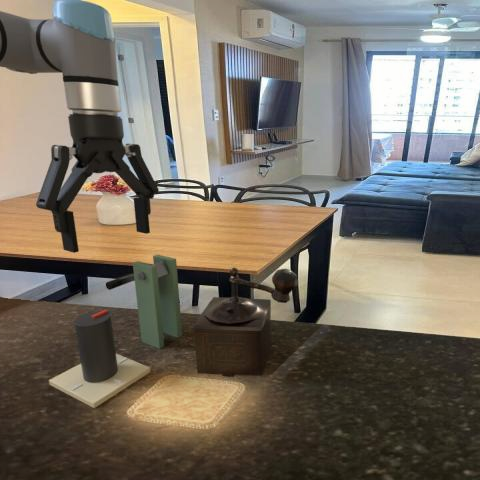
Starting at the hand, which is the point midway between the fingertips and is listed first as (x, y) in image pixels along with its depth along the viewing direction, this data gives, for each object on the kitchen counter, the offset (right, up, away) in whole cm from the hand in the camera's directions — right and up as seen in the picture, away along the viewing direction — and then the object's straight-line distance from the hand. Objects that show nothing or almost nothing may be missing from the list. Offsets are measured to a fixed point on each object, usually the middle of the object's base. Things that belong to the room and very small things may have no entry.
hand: (110, 240), depth 67 cm
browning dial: (+5, -19, -11) cm, 23 cm away
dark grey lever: (+6, -7, -1) cm, 9 cm away
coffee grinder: (+26, -20, -4) cm, 33 cm away
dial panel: (+5, -21, -10) cm, 24 cm away
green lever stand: (+9, -18, 0) cm, 21 cm away
